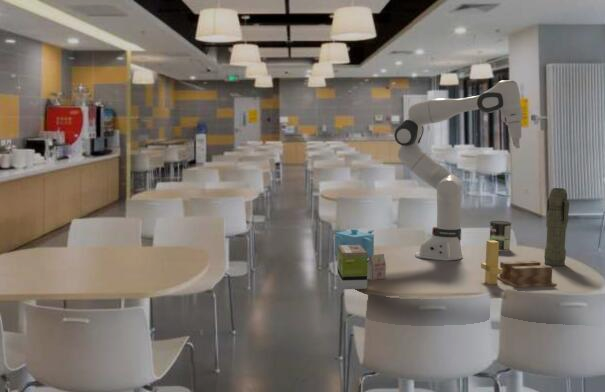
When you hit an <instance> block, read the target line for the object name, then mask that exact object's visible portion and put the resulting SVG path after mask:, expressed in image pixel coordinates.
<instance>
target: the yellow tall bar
mask: <svg viewBox="0 0 605 392" xmlns="http://www.w3.org/2000/svg"><path fill="white" fill-rule="evenodd" d="M485 245H486V247H485V249H486V251H485V262H481V263H480V268H481V269H482V270H484V271H485V272H484V273H485V274H484V282H485V284H486V283H487V284H488V285H497V284H498V279H497V276H498V275H500V274H502V272H503V269H502V268H500V267H499V252H500V251H499V242H497V241H495V240H494V241H490V240H486V244H485Z"/></svg>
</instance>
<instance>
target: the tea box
mask: <svg viewBox="0 0 605 392" xmlns="http://www.w3.org/2000/svg"><path fill="white" fill-rule="evenodd" d="M337 254H338V255H337V256H336V257H337V259H336V260H337V265H336V267H337V274H336V275H337V281H338V283H339V285H340V287H341V289H342V290H365V289H366V290H367V289H368V279H367V264H368V261H367V260H368V258H367V252H366V251H365V250H364V248H363V247H362V246H361V245H338V247H337Z"/></svg>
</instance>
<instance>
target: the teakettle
mask: <svg viewBox="0 0 605 392" xmlns="http://www.w3.org/2000/svg"><path fill="white" fill-rule="evenodd" d="M335 231H336V232H335V233H334V235H333V237H334V256H336V257H337V255H338V254H337V247H338V245H361V246H362V247H363V248H364V250H365V251H366V252H367V259H369V257H370V255H375V254H374V251H375V250H374V249H375V246H374V244H375V242H374V241H375V235H374V234H373V232H374V231H375V230H373V229H371V230H368V231H367V232H363V231H359V229H358V228H351V229H350V230H346V231H342V230H341V229H339V228H335Z"/></svg>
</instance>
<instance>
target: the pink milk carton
mask: <svg viewBox="0 0 605 392" xmlns="http://www.w3.org/2000/svg"><path fill="white" fill-rule="evenodd" d="M386 271H387V264H386V259H385V254H384V253H381V254H380V253H379V254H374V255H370V257H369V258H368V261H367V278H368V279H367V280H370V279H371V280H370V281H378V280H377V279H379V280H384V278H386V277H387V274H386V273H387V272H386Z"/></svg>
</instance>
